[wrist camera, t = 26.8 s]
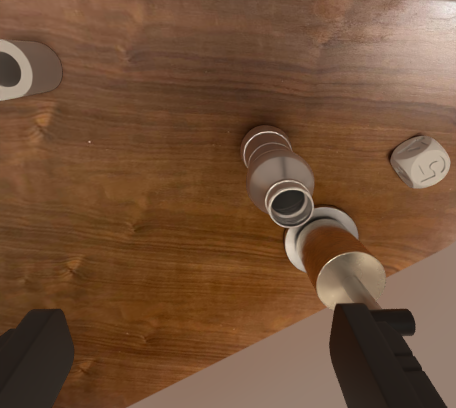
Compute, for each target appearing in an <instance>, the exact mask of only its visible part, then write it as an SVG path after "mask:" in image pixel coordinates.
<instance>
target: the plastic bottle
mask: <svg viewBox="0 0 456 408" xmlns="http://www.w3.org/2000/svg"><path fill="white" fill-rule="evenodd" d="M240 152H241V158H242V160H243V162H244V164H245V166H246V167H247V168H248V173H247V178H246V188H247V192H248V195H249V197H250V199H251V201H252V202H253V203H254V204H255V205H256V206H257V207H258V208H259V209H261V210H262V211H263V212H265V213H267V214H270V216H271V218H272V219H273V221H274V222H275V223H277V224H278V225H280V226H282V227H285V228H295V227H299V226H301V225H303V224H305V223H306V222H307V221H308V220H309V219H310V218H311V216H312V214H313V211H314V203H313V200H312V195H313V190H314V175H313V172H312V170H311V168H310V166H309V165H308V163H307V162H306V161H305V160H304V159H303V158H301V157H300V156H299V155H297V154H296V153H294V152H292V147H291V143H290V140H289V138H288V137H287V135H286V134H285V133H284V132H283V131H282V130H280V129H278V128H276V127H274V126H269V125H261V126H257V127H255V128H253V129H251V130H250V131H249V132H248V133H247V134H246V135H245V137H244V139H243V141H242V143H241V149H240Z"/></svg>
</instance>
